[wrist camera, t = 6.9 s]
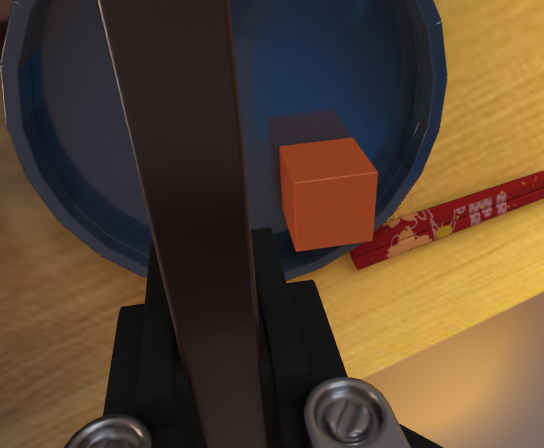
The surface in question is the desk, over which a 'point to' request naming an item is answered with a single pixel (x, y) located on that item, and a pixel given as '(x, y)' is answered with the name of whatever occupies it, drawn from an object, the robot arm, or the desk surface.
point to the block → (327, 193)
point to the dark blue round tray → (252, 100)
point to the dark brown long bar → (195, 197)
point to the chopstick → (447, 219)
